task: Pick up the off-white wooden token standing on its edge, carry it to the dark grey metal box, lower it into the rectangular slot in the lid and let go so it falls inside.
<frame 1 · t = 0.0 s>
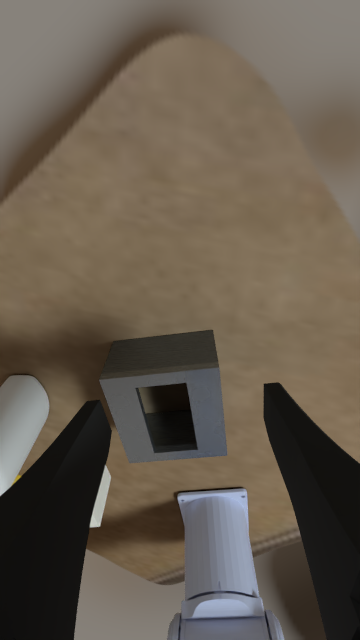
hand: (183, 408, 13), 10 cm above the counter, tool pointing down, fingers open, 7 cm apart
eye dropper bottle: (31, 394, 26), on the counter
slot box: (171, 378, 25), on the counter
token: (96, 464, 31), on the counter
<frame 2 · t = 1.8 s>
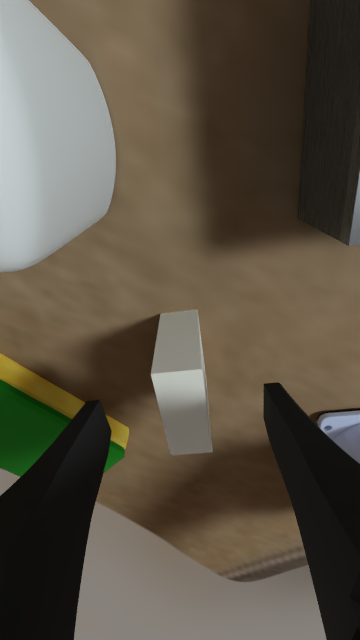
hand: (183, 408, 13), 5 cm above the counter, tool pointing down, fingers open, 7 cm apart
eye dropper bottle: (76, 146, 12), on the counter
dish sponge: (22, 401, 20), on the counter
token: (184, 349, 17), on the counter
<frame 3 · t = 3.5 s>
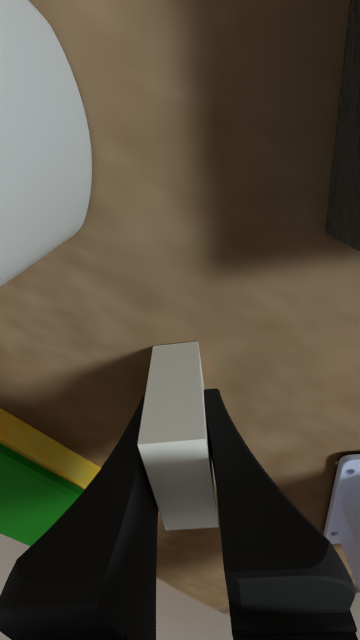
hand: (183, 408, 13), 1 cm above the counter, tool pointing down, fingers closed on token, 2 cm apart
eye dropper bottle: (40, 140, 9), on the counter
token: (183, 386, 14), on the counter, touching gripper
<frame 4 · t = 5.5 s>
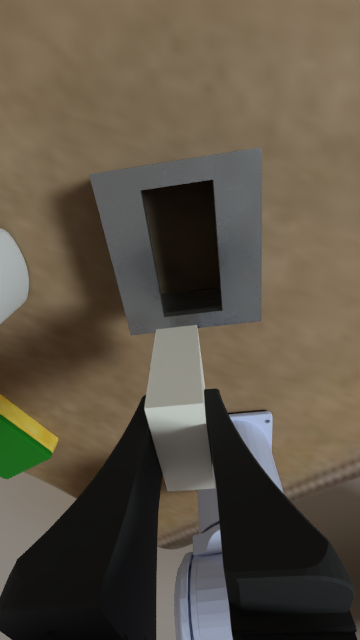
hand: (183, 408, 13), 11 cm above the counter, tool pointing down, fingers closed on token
eye dropper bottle: (5, 265, 21), on the counter
slot box: (185, 236, 19), on the counter
token: (183, 367, 15), point 8 cm above the counter, touching gripper
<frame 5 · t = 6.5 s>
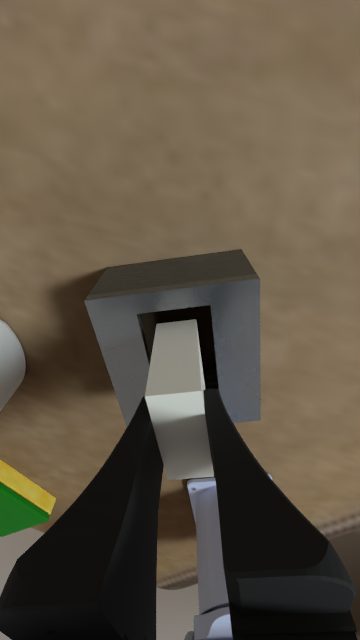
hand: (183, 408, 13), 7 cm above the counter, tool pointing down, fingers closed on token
eye dropper bottle: (2, 347, 20), on the counter
slot box: (183, 323, 19), on the counter
token: (183, 361, 16), point 4 cm above the counter, touching gripper
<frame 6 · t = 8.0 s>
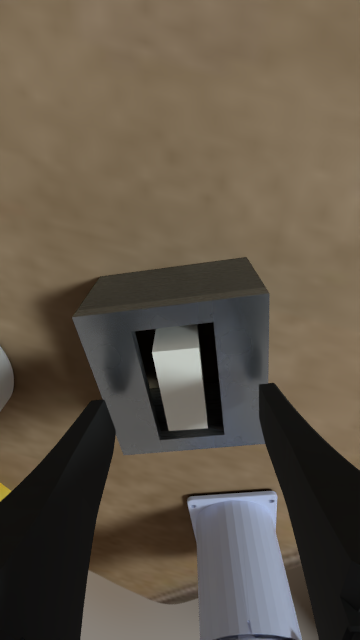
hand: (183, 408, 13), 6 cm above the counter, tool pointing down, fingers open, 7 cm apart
slot box: (183, 336, 18), on the counter
token: (182, 335, 18), resting in slot box
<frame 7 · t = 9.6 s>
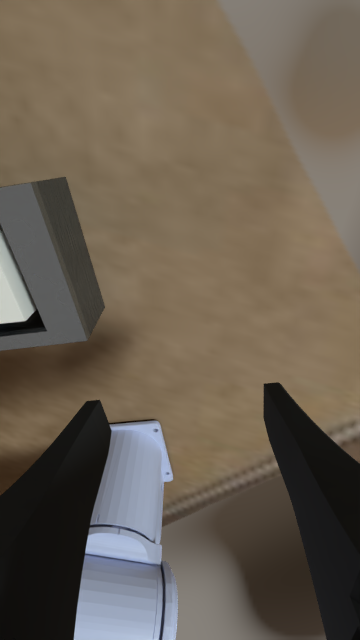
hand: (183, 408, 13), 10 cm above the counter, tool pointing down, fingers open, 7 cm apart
slot box: (32, 257, 20), on the counter
token: (32, 256, 20), resting in slot box
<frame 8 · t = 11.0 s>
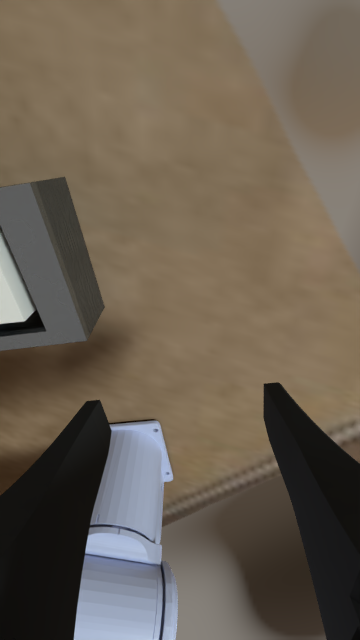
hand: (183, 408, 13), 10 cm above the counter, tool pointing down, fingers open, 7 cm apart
slot box: (31, 257, 20), on the counter
token: (31, 256, 20), resting in slot box
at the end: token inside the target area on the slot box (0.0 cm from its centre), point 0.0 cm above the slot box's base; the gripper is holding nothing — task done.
